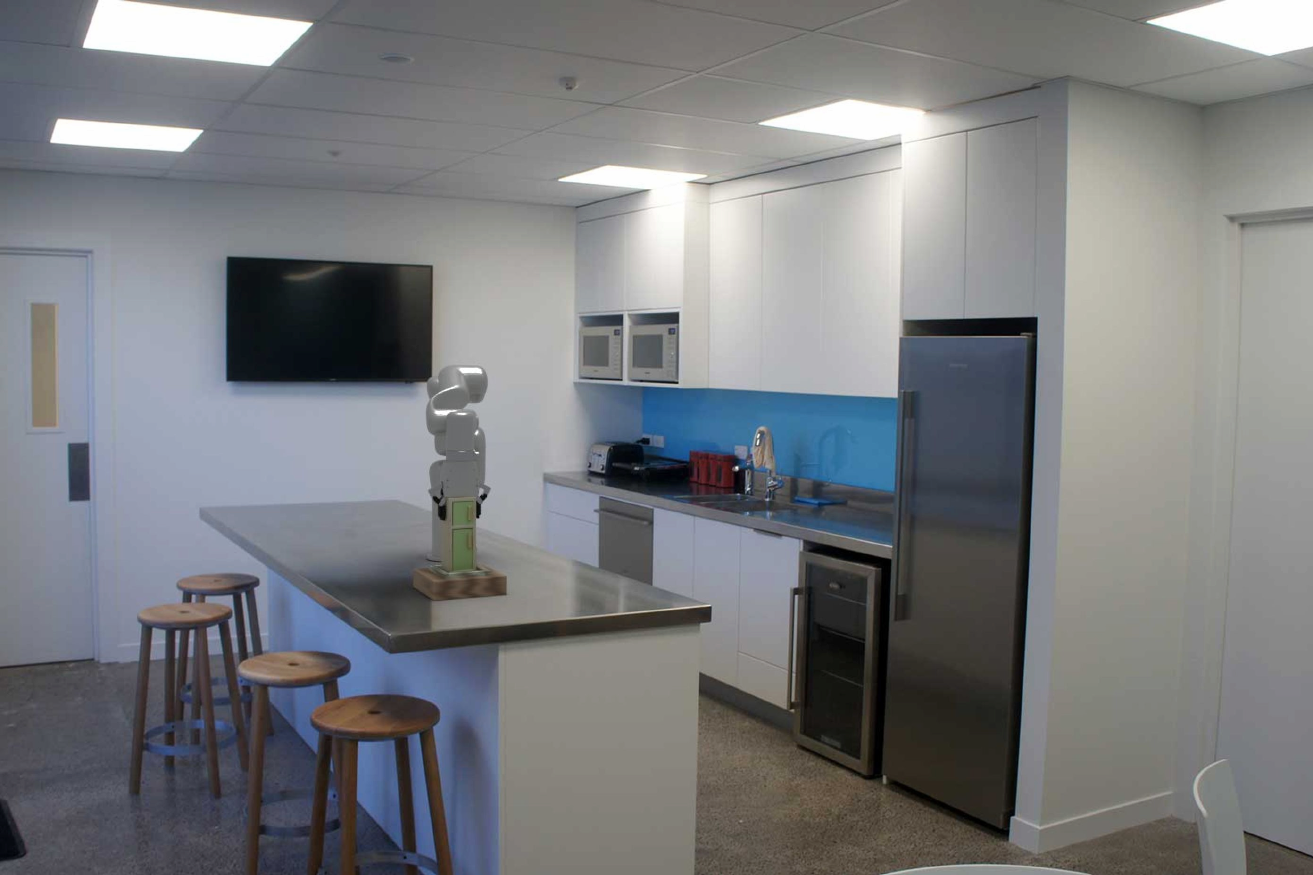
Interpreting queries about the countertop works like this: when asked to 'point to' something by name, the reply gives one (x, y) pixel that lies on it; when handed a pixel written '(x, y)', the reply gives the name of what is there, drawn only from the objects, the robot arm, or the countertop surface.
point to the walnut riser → (459, 583)
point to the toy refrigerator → (459, 535)
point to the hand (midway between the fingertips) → (459, 518)
